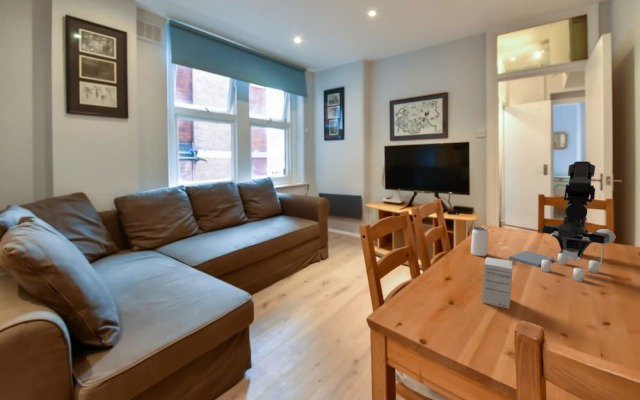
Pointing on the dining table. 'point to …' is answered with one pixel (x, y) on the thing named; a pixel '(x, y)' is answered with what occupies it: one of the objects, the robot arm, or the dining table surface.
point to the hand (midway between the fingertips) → (571, 255)
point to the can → (479, 241)
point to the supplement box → (497, 282)
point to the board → (530, 258)
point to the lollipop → (612, 238)
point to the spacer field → (578, 272)
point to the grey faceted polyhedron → (570, 254)
